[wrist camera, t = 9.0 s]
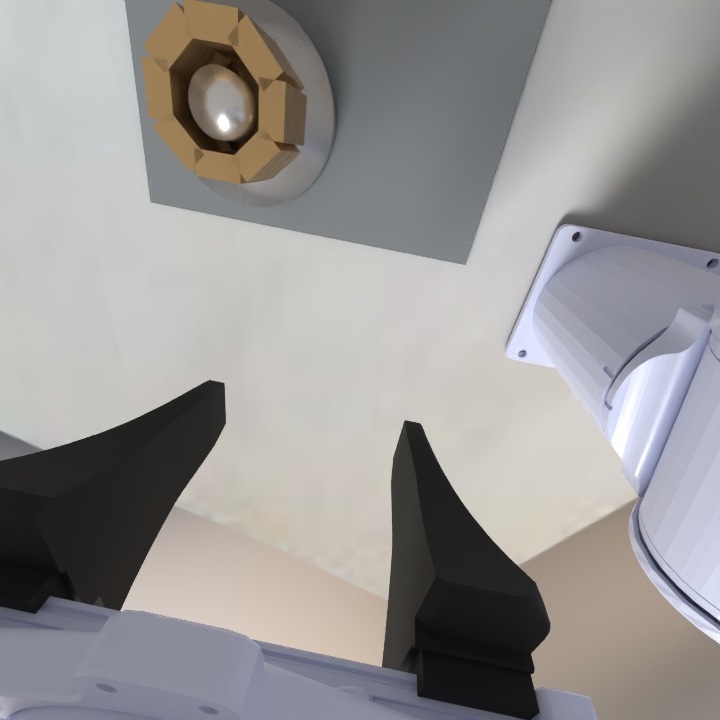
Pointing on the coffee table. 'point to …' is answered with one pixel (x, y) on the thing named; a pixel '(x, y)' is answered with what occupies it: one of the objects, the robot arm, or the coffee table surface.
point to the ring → (221, 46)
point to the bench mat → (384, 119)
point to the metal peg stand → (241, 108)
